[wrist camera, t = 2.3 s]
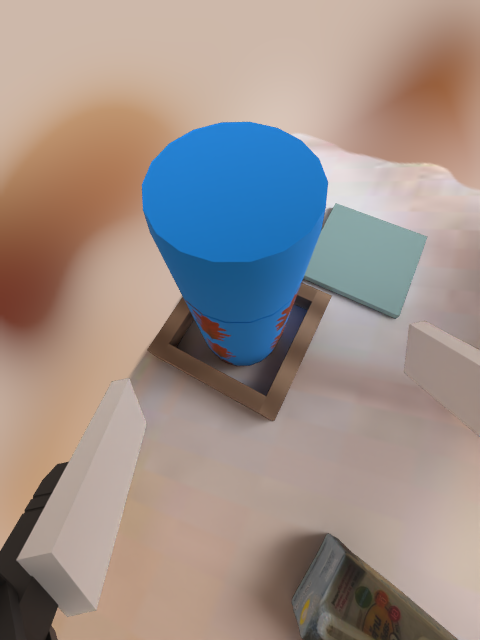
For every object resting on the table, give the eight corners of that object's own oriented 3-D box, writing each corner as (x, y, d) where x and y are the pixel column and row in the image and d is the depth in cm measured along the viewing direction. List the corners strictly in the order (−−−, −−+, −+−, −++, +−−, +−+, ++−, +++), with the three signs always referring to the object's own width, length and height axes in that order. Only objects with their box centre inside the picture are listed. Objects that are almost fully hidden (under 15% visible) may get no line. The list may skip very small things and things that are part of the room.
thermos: (256, 382, 36) (272, 303, 12) (190, 343, 38) (97, 213, 15) (293, 316, 39) (361, 155, 16) (230, 283, 41) (207, 100, 18)
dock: (219, 257, 43) (216, 245, 40) (325, 304, 39) (331, 295, 37) (154, 355, 37) (147, 350, 35) (272, 421, 34) (274, 420, 31)
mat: (333, 207, 46) (335, 203, 45) (423, 240, 43) (427, 236, 42) (298, 276, 41) (299, 273, 40) (395, 318, 38) (399, 316, 37)
